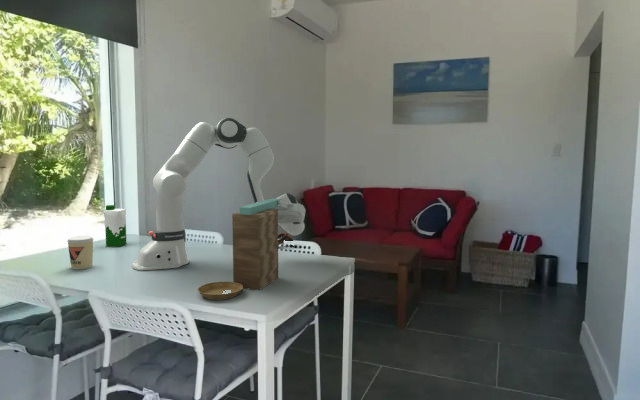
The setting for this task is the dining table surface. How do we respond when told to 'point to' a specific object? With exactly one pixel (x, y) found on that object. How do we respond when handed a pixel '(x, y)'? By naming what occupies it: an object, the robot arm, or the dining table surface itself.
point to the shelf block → (255, 248)
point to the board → (258, 206)
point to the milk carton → (115, 226)
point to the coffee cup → (81, 252)
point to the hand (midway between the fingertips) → (272, 201)
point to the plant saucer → (219, 290)
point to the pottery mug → (284, 238)
